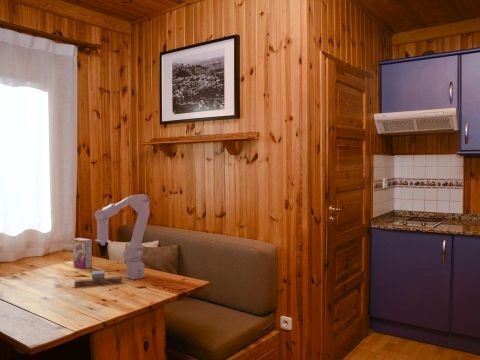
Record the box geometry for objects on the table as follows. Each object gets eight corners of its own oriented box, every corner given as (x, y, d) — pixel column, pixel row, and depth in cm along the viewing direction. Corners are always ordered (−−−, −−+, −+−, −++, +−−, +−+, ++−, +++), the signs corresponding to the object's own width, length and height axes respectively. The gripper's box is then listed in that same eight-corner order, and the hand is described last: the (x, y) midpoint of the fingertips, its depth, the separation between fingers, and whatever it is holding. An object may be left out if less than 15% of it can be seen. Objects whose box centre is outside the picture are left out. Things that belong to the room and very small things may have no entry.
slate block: (104, 280, 219) (104, 270, 219) (104, 283, 213) (104, 273, 213) (92, 281, 217) (92, 271, 217) (92, 284, 211) (91, 274, 211)
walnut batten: (121, 281, 216) (121, 276, 216) (121, 283, 213) (121, 278, 213) (75, 285, 209) (74, 280, 209) (74, 287, 206) (74, 281, 206)
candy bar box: (72, 266, 247) (72, 238, 246) (80, 265, 251) (79, 237, 251) (85, 269, 241) (85, 240, 240) (92, 267, 245) (92, 239, 245)
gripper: (95, 229, 238) (95, 253, 238) (94, 233, 224) (95, 259, 224) (108, 229, 240) (108, 253, 240) (108, 233, 226) (109, 258, 226)
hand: (103, 256), depth 232 cm, fingers closed
